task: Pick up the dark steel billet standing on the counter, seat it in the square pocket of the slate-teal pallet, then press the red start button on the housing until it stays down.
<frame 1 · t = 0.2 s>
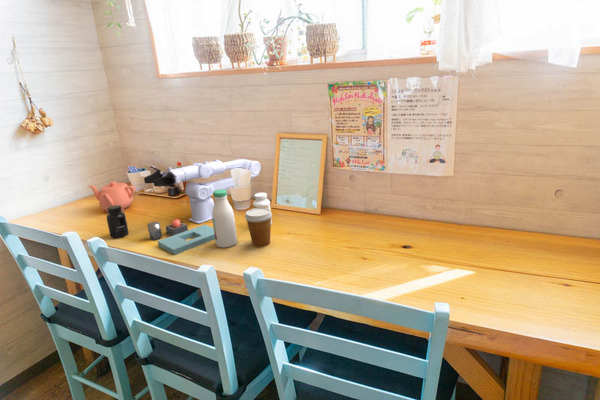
hand: (149, 182, 154), 21 cm above the table, tool horizontal, fingers open, 7 cm apart
pallet: (191, 241, 152), on the table
start button: (176, 225, 160), point 3 cm above the table, slide at 0.0 cm
disposable coffee cup: (261, 243, 146), on the table
supplement bottle 2: (263, 225, 163), on the table
teapot: (115, 210, 194), on the table
milk bottle: (226, 244, 148), on the table
supplement bottle: (120, 235, 162), on the table
button housing: (177, 232, 161), on the table
billet: (156, 238, 157), on the table
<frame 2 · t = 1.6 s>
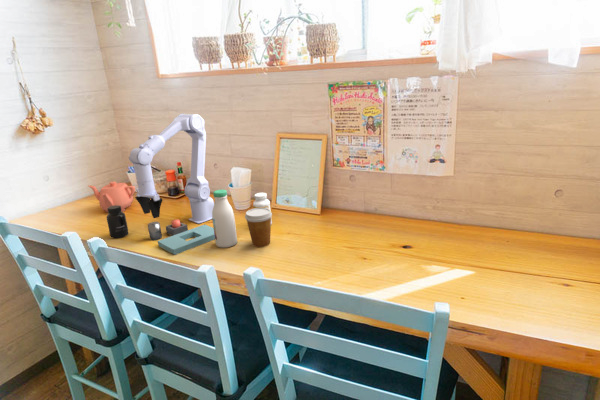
hand: (151, 215, 154), 9 cm above the table, tool pointing down, fingers open, 7 cm apart
nothing on the table moved.
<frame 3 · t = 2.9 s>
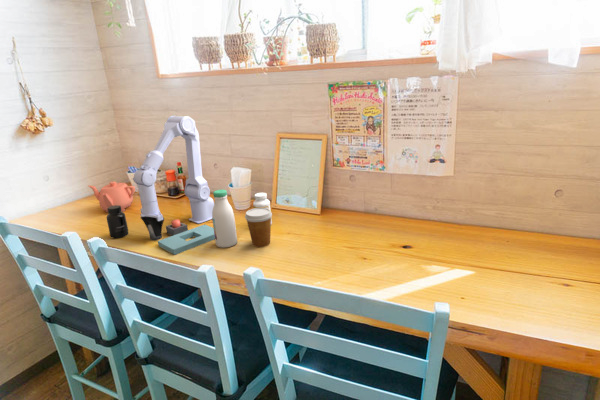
hand: (155, 234, 156), 2 cm above the table, tool pointing down, fingers closed on billet, 4 cm apart
billet: (156, 238, 157), on the table, touching gripper
everything else where it was.
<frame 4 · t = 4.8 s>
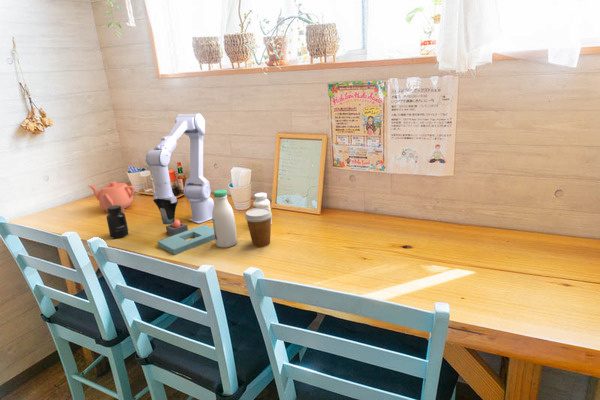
hand: (168, 217, 152), 9 cm above the table, tool pointing down, fingers closed on billet, 4 cm apart
billet: (168, 222, 152), point 7 cm above the table, touching gripper
everything else where it was.
when the fingers open (3 cm above the table, at t = 6.8 s): billet drops 1 cm, resting in pallet.
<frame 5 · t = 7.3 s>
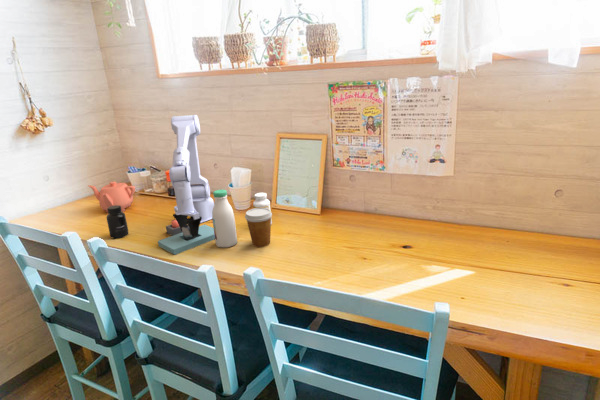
hand: (189, 233, 151), 3 cm above the table, tool pointing down, fingers open, 7 cm apart
billet: (190, 241, 152), resting in pallet
everything else where it was.
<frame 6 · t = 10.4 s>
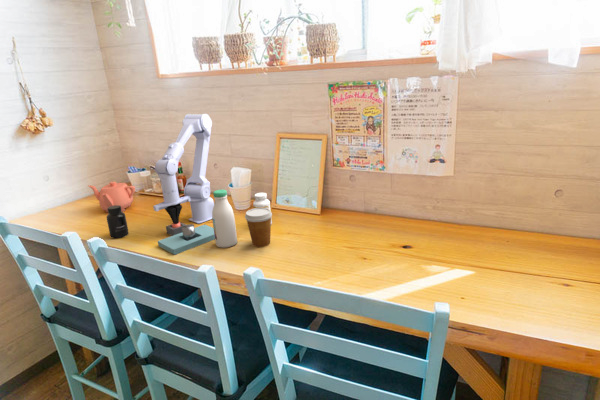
hand: (175, 223, 160), 4 cm above the table, tool pointing down, fingers closed, pressing on start button
start button: (176, 227, 160), point 2 cm above the table, slide at 1.0 cm, touching gripper
everything else where it was.
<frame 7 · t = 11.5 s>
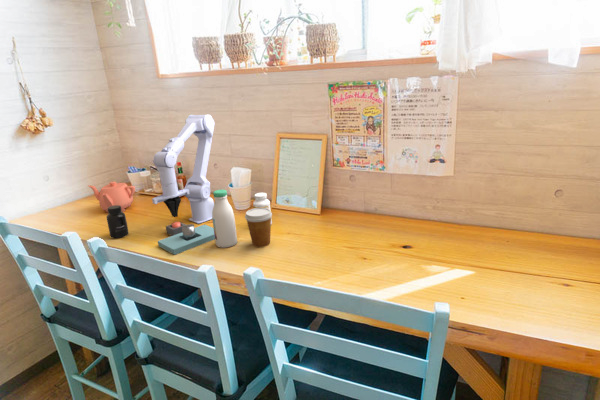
hand: (174, 216, 159), 7 cm above the table, tool pointing down, fingers closed
start button: (176, 227, 160), point 2 cm above the table, slide at 1.0 cm
everything else where it was.
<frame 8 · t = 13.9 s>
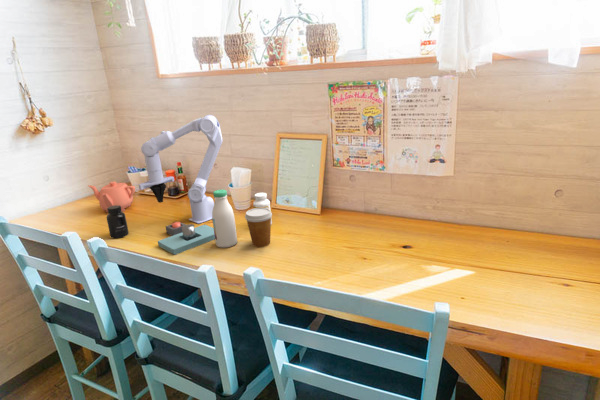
hand: (160, 201, 169), 9 cm above the table, tool pointing down, fingers closed
nothing on the table moved.
at the end: billet 0.3 cm off-centre on the pallet, point 0.0 cm above the pallet's base; billet tilted 0°; start button slide at 1.0 cm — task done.
